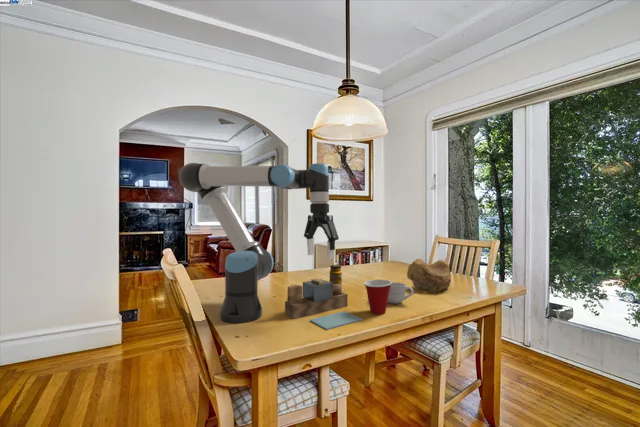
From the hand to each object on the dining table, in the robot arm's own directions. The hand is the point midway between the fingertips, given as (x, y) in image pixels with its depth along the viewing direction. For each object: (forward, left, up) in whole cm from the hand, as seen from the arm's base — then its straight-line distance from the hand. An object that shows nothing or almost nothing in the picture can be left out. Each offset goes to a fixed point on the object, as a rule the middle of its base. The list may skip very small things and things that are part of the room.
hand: (320, 256), depth 123 cm
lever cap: (-1, 0, -16) cm, 16 cm away
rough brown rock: (+65, -7, -21) cm, 68 cm away
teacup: (+33, -11, -21) cm, 41 cm away
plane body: (-1, 0, -21) cm, 21 cm away
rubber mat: (-2, -13, -21) cm, 25 cm away
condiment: (+24, +21, -21) cm, 38 cm away
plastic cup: (+17, -15, -21) cm, 31 cm away
